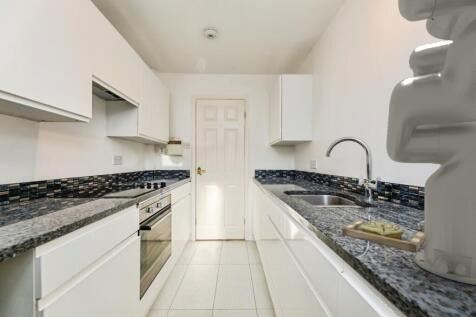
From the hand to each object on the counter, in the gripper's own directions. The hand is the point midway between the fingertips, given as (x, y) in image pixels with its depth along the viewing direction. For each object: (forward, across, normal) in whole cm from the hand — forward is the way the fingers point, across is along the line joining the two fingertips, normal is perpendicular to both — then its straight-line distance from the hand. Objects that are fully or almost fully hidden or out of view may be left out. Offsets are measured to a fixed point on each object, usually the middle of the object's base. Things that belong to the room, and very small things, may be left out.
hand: (428, 156), depth 68 cm
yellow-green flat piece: (+25, -8, +11) cm, 29 cm away
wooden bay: (+25, -8, +10) cm, 28 cm away
